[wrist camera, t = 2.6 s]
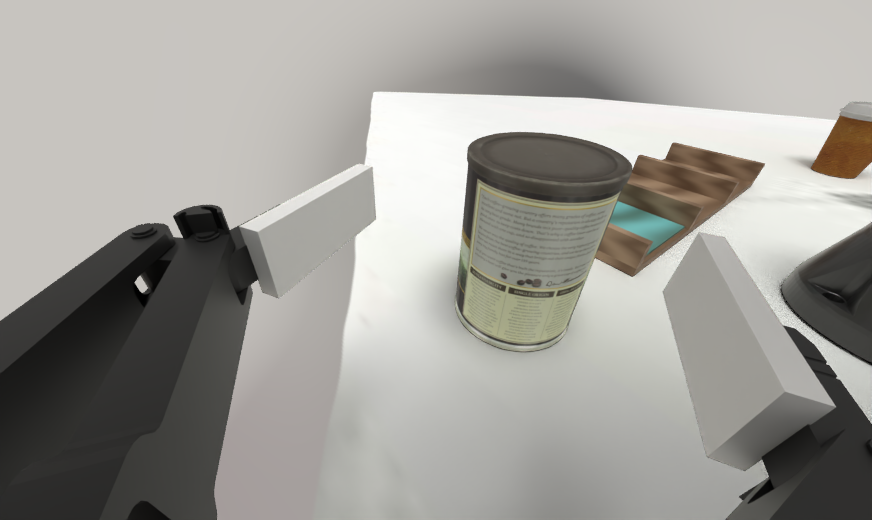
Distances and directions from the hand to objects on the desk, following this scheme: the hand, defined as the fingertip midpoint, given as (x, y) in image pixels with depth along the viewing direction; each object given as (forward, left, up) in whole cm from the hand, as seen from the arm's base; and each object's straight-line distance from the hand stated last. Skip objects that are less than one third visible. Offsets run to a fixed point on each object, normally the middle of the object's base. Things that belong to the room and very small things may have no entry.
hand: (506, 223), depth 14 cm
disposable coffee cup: (-7, -90, -14) cm, 91 cm away
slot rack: (+7, -45, -14) cm, 47 cm away
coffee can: (+5, -9, -14) cm, 17 cm away
